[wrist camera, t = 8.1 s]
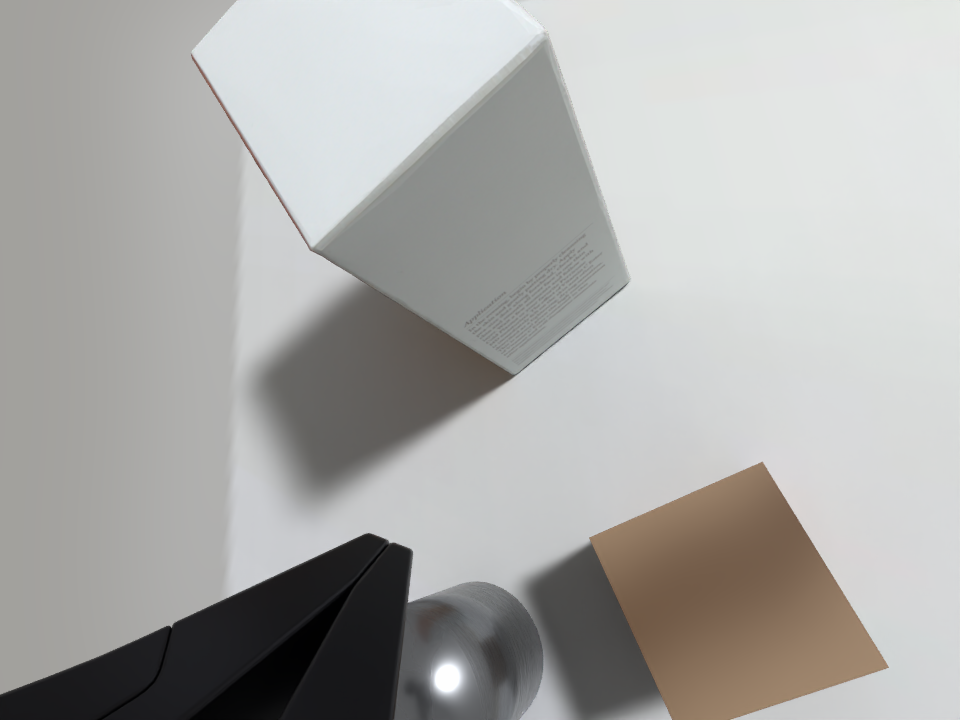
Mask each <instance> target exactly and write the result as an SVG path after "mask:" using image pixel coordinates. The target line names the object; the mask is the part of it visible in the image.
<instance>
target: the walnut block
mask: <svg viewBox="0 0 960 720" xmlns="http://www.w3.org/2000/svg"><path fill="white" fill-rule="evenodd" d="M589 539H590V541H591V543H592V545H593V547H594V549H595V552H596V554H597V556H598V558H599V560H600V563H601V565H602V567H603V569H604V571H605V574H606V576H607V578H608V580H609V582H610V584H611V587H612V589H613V591H614V593H615V595H616V598H617V600H618V602H619V604H620V606H621V609H622V611H623V613H624V615H625V617H626V619H627V622H628V624H629V626H630V628H631V630H632V633H633V635H634V637H635V639H636V641H637V644H638V646H639V648H640V650H641V652H642V654H643V657H644V659H645V661H646V663H647V665H648V668H649V670H650V672H651V674H652V676H653V679H654V681H655V683H656V685H657V687H658V690H659V692H660V694H661V696H662V698H663V700H664V703H665V705H666V707H667V709H668V711H669V714H670V716H671V718H672V720H731V719H734V718H737V717H740V716H743V715H746V714H749V713H752V712H755V711H758V710H761V709H764V708H767V707H770V706H773V705H776V704H780V703H783V702H786V701H789V700H792V699H795V698H798V697H801V696H804V695H807V694H810V693H813V692H816V691H819V690H822V689H825V688H828V687H831V686H834V685H838V684H841V683H844V682H847V681H850V680H853V679H856V678H859V677H862V676H865V675H868V674H871V673H874V672H877V671H880V670H883V669H886V668H889V667H888V665H887V663H886V662H885V660H884V659H883V657H882V655H881V654H880V652H879V650H878V649H877V647H876V646H875V644H874V642H873V641H872V639H871V637H870V636H869V634H868V633H867V631H866V629H865V628H864V626H863V624H862V623H861V621H860V620H859V618H858V616H857V615H856V613H855V611H854V610H853V608H852V607H851V605H850V603H849V602H848V600H847V598H846V597H845V595H844V594H843V592H842V590H841V589H840V587H839V585H838V584H837V582H836V581H835V579H834V577H833V576H832V574H831V572H830V571H829V569H828V568H827V566H826V564H825V563H824V561H823V559H822V558H821V556H820V555H819V553H818V551H817V550H816V548H815V546H814V545H813V543H812V542H811V540H810V538H809V537H808V535H807V533H806V532H805V530H804V529H803V527H802V525H801V524H800V522H799V520H798V519H797V517H796V516H795V514H794V512H793V511H792V509H791V507H790V506H789V504H788V503H787V501H786V499H785V498H784V496H783V494H782V493H781V491H780V490H779V488H778V486H777V485H776V483H775V481H774V480H773V478H772V477H771V475H770V473H769V472H768V470H767V468H766V467H765V465H764V464H763V462H761V463H759V464H756V465H754V466H752V467H750V468H747V469H745V470H743V471H740V472H738V473H736V474H734V475H731V476H729V477H727V478H724V479H722V480H720V481H718V482H715V483H713V484H711V485H708V486H706V487H704V488H702V489H699V490H697V491H695V492H693V493H690V494H688V495H686V496H683V497H681V498H679V499H677V500H674V501H672V502H670V503H667V504H665V505H663V506H661V507H658V508H656V509H654V510H651V511H649V512H647V513H645V514H642V515H640V516H638V517H635V518H633V519H631V520H629V521H626V522H624V523H622V524H619V525H617V526H615V527H613V528H610V529H608V530H606V531H603V532H601V533H599V534H597V535H594V536H592V537H590V538H589Z"/></svg>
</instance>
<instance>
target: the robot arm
mask: <svg viewBox="0 0 960 720" xmlns="http://www.w3.org/2000/svg"><path fill="white" fill-rule="evenodd" d="M412 559H413V551H412V550H411V549H410V548H407V547H405V546H402V545H399V544H397V543H389V541H388V540H387V539H384V538H382V537H379V536H376V535H374V534H371V533H367V534H364V535H362V536H360V537H357V538H355V539H353V540H351V541H349V542H347V543H345V544H342V545H340V546H338V547H336V548H334V549H332V550H329V551H327V552H325V553H323V554H321V555H319V556H317V557H314V558H312V559H310V560H308V561H306V562H304V563H302V564H299V565H297V566H295V567H293V568H291V569H289V570H287V571H284V572H282V573H280V574H278V575H276V576H274V577H271V578H269V579H267V580H265V581H263V582H261V583H259V584H256V585H254V586H252V587H250V588H248V589H246V590H244V591H241V592H239V593H237V594H235V595H233V596H231V597H229V598H226V599H224V600H222V601H220V602H218V603H216V604H213V605H211V606H209V607H207V608H205V609H203V610H201V611H198V612H196V613H194V614H192V615H190V616H188V617H186V618H184V619H181V620H179V621H177V622H175V623H174V624H173V626H172V628H171V627H170V626H166V627H164V628H161V629H160V630H158V631H155V632H153V633H151V634H149V635H147V636H144V637H142V638H140V639H138V640H135V641H133V642H131V643H129V644H126V645H124V646H122V647H120V648H117V649H115V650H113V651H110V652H108V653H106V654H104V655H101V656H99V657H97V658H94V659H91V660H89V661H86V662H84V663H81V664H79V665H76V666H74V667H71V668H69V669H66V670H64V671H61V672H59V673H56V674H54V675H51V676H49V677H46V678H43V679H41V680H38V681H35V682H33V683H30V684H27V685H25V686H22V687H19V688H17V689H14V690H11V691H9V692H6V693H3V694H1V695H0V720H394V719H395V710H396V701H397V692H398V683H399V674H400V666H401V657H402V648H403V639H404V630H405V621H406V612H407V604H408V595H409V586H410V577H411V568H412Z"/></svg>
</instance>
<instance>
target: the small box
mask: <svg viewBox="0 0 960 720" xmlns="http://www.w3.org/2000/svg"><path fill="white" fill-rule="evenodd" d="M191 56H192V59H193V61H194V62H195V64H196V66H197V67H198V69H199V71H200V72H201V74H202V75H203V77H204V79H205V80H206V82H207V83H208V85H209V87H210V88H211V90H212V92H213V93H214V95H215V96H216V98H217V100H218V101H219V103H220V105H221V106H222V108H223V109H224V111H225V113H226V114H227V116H228V118H229V119H230V121H231V122H232V124H233V126H234V127H235V129H236V130H237V132H238V134H239V135H240V137H241V139H242V141H243V142H244V144H245V146H246V147H247V149H248V150H249V152H250V153H251V155H252V157H253V158H254V160H255V162H256V164H257V165H258V167H259V168H260V170H261V172H262V173H263V175H264V176H265V178H266V179H267V181H268V182H269V184H270V186H271V188H272V189H273V191H274V192H275V194H276V196H277V197H278V199H279V200H280V202H281V204H282V205H283V207H284V208H285V210H286V212H287V213H288V215H289V216H290V218H291V220H292V221H293V223H294V225H295V226H296V228H297V229H298V231H299V233H300V234H301V236H302V238H303V239H304V241H305V242H306V244H307V245H308V247H309V249H310V250H311V251H313V252H315V253H317V254H319V255H321V256H323V257H324V258H326V259H327V260H329V261H330V262H332V263H333V264H335V265H337V266H338V267H340V268H342V269H343V270H345V271H347V272H348V273H350V274H352V275H353V276H355V277H356V278H358V279H359V280H361V281H363V282H364V283H366V284H367V285H369V286H371V287H372V288H374V289H376V290H377V291H379V292H380V293H382V294H384V295H385V296H387V297H388V298H390V299H392V300H393V301H395V302H397V303H398V304H400V305H401V306H403V307H405V308H406V309H408V310H409V311H411V312H413V313H414V314H416V315H418V316H419V317H421V318H422V319H424V320H426V321H427V322H429V323H430V324H432V325H434V326H435V327H437V328H438V329H440V330H442V331H443V332H445V333H446V334H448V335H450V336H451V337H453V338H454V339H456V340H458V341H459V342H461V343H462V344H464V345H466V346H467V347H469V348H471V349H472V350H474V351H475V352H477V353H479V354H480V355H482V356H483V357H485V358H486V359H488V360H490V361H491V362H493V363H494V364H496V365H498V366H499V367H501V368H502V369H504V370H505V371H507V372H509V373H510V374H512V375H514V374H516V373H519V372H520V371H521V370H522V369H523V368H524V367H526V366H527V365H528V364H529V363H530V362H532V361H533V360H534V359H535V358H536V357H538V356H539V355H540V354H541V353H543V352H544V351H545V350H546V349H548V348H549V347H550V346H551V345H552V344H554V343H555V342H556V341H557V340H558V339H560V338H561V337H562V336H563V335H565V334H566V333H567V332H568V331H569V330H571V329H572V328H573V327H574V326H576V325H577V324H578V323H579V322H581V321H582V320H583V319H584V318H586V317H587V316H588V315H589V314H591V313H592V312H593V311H594V310H595V309H597V308H598V307H599V306H600V305H602V304H603V303H604V302H605V301H606V300H608V299H609V298H610V297H611V296H612V295H613V294H615V293H616V292H617V291H618V290H620V289H621V288H622V287H623V286H625V285H626V284H627V283H628V282H629V281H630V280H631V278H630V274H629V272H628V269H627V266H626V263H625V260H624V257H623V255H622V252H621V249H620V246H619V243H618V240H617V237H616V234H615V231H614V228H613V225H612V222H611V219H610V216H609V213H608V210H607V206H606V203H605V200H604V197H603V194H602V191H601V189H600V186H599V183H598V180H597V177H596V174H595V171H594V168H593V165H592V162H591V159H590V156H589V153H588V150H587V147H586V144H585V141H584V138H583V135H582V132H581V129H580V126H579V124H578V121H577V118H576V115H575V111H574V108H573V105H572V101H571V98H570V95H569V93H568V90H567V87H566V84H565V81H564V78H563V75H562V72H561V69H560V66H559V64H558V61H557V58H556V55H555V52H554V49H553V46H552V43H551V40H550V37H549V34H548V31H547V30H546V28H545V27H544V26H543V25H542V24H541V23H540V22H539V21H538V20H537V19H536V18H534V17H533V16H532V15H531V14H530V13H529V12H528V11H527V10H526V9H525V8H524V7H522V6H521V5H520V4H519V3H518V2H517V1H515V0H237V1H236V2H235V3H234V4H233V6H231V8H230V9H229V10H228V11H227V12H226V13H225V14H224V15H223V16H222V18H221V19H220V20H219V21H218V22H217V23H216V24H215V25H214V27H213V28H212V29H211V30H210V31H209V32H208V33H207V34H206V36H205V37H204V38H203V39H202V40H201V41H200V43H199V44H198V45H197V46H196V47H195V48H194V49H193V51H192V52H191Z"/></svg>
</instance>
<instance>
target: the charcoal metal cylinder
mask: <svg viewBox="0 0 960 720" xmlns="http://www.w3.org/2000/svg"><path fill="white" fill-rule="evenodd" d="M542 672H543V652H542V645H541V641H540V637H539V634H538V631H537V628H536V626H535V624H534V622H533V620H532V618H531V616H530V615H529V613H528V612H527V610H526V609H525V608H524V606H523V605H522V604H521V603H520V602H519V601H518V600H517V599H516V598H515V597H514V596H513V595H511V594H510V593H509V592H507V591H505V590H504V589H502V588H500V587H498V586H496V585H493V584H489V583H485V582H468V583H463V584H460V585H457V586H454V587H452V588H449V589H446V590H443V591H440V592H438V593H435V594H432V595H429V596H426V597H424V598H421V599H418V600H415V601H413V602H410V603H408V604H407V612H406V621H405V630H404V639H403V648H402V657H401V666H400V674H399V683H398V692H397V701H396V710H395V719H394V720H519V719H520V718H521V716H522V715H523V714H524V713H525V712H526V710H527V709H528V708H529V707H530V705H531V704H532V702H533V700H534V699H535V697H536V695H537V692H538V690H539V687H540V683H541V679H542Z"/></svg>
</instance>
